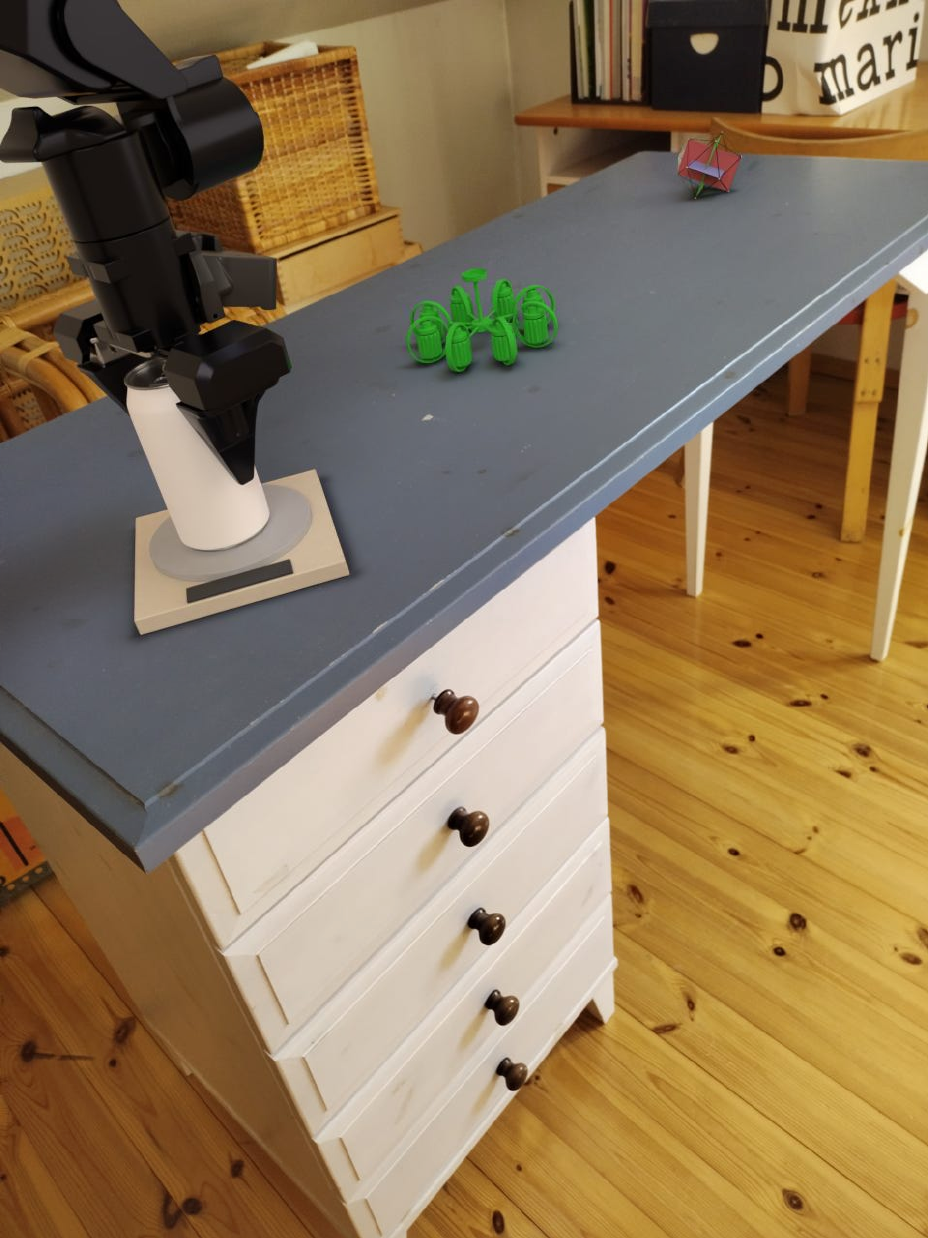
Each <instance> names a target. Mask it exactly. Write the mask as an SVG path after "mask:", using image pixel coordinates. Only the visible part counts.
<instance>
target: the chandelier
mask: <svg viewBox="0 0 928 1238" xmlns="http://www.w3.org/2000/svg"><path fill="white" fill-rule="evenodd" d="M487 277H488V273H487V270H486V269H485V268H482V267H480V268H471V269H467V270H465V271H464V272H462V273H461V278H462V282H464V283H473V287H474V288H473V289H474V295H475V302H476V309H477V316H478V317H475V314H474V313H475V312H474V306H473V301H472V299H471V298H470V294H469V293H468V292H465V290H464V289H463V287H462V286H460V285H456V286H453V287H452V288H451V291H450V303H449V309H450V314H451V316H450V314H449V313H448V311H447V310H446V308H445V307H443V306H442V305H441V304H440V303H438V302H436V301H432V300H423V301H421V302H419V303H417V305H415V306H414V308H413V309H412V311H411V312H410V317H409V323H410V324H409V325H410V326H409V328H408V330H407V333H406V336H405V345H406V349H407V351H408V353H409V354H410V355H411V357H412V358H413V359H414V360H416V361H417V362H419V363H423V364H432V363H436V362H437V361H440V360H441V359H442V358H443V357H445V358H446V361H447V362H446V363H447V365H448V367H449V368H450V370H451V371H452V372H454V373H462V372H464V371H465V370H466V369H467V366H469V365H470V364H471V363H472V362H473V352H472V343H471V338H472V337H473V335H475V333H481V332H487V331H488V332H489V333H491V335H490V340H491V348H492V354H493V357H494V359H495V360H496V361H499V362H502V363H503V364H504V365H505V366H510V365H514V363H515V362H516V358H517V355H518V345H517V339H518V340H519V341H520V342H521V343H522V344H524V345H526V346H528V347H530V348H535V349H536V348H537V349H538V348H544V347H546V346H548V345H549V344H550V343H551V342H552V341H553V340H554V339H555V338H556V336H557V334H558V328H559V323H558V319H557V318H558V317H557V316H556V313H555V310H556V302H555V298H554V295H553V294H552V292H551V291H550V289H548V288H546V287H545V286H542V285H539V284H532V285H528V286H526V287H524V288H523V289H521V290H520V291H519V293H518V294H516V297H515V296H514V289H513V286H512V284H511V281H509V280H508V279H507V278H502V279H501V278H500V279H498V280H497V281H496V282H495V285H494V287H493V289H492V291H491V294H492V296H491V298H490V299H491V309H492V311H491V312H490V313H489V314H488V315H487V316H485V317H484V316H483V309H482V304H481V297H480V296H481V295H480V290H479V284H478V283H479V282H481V281H483V280H485V279H486V278H487ZM537 289H540V290H543V291H545V292H546V293H547V295H548V297H549V299H550V306H548V304H545V300H544V298H543V294H542V293H541V292H538V291H537ZM521 298H522V302H521V305H520V306H519V307H518V308H517V306H518V303H519V301H520V299H521ZM421 306H422V310H419V317H418V319H416V320H415V314H416V311H417V309H418V308H419V307H421ZM520 310H521V311H522V324H521V323H520V322H519V320H518V318H517V317H518V314H519V312H520ZM439 311H440V312H441V313H442V314H443V316H444V318H445V320H446V322H445V321H443V319H442V315H441V314H440V312H439ZM546 312H547V313H548V315H546ZM492 316H493V318H491V317H492ZM511 320H512V322H510V321H511ZM551 320H552V322H553V334H552V336H551V338H550V339H549V340H548V338H549V332H548V324H549V323H550V322H551ZM446 323H447V324H446ZM444 328H445V330H444ZM519 328H520V329H522V330H523V335H524V336H523V335H522V334H521V332H520V331H519ZM445 331H446V336H445ZM470 331H471V332H470ZM412 333H413V334H414V336H415V338H416V344H417V349H418V354H419V356H420V357H421V358H420V357H418V356H416V355H415V354H414V353H413V351H412V349H411V346H410V345H411V344H410V339H411V335H412ZM444 336H445V338H444ZM516 337H517V338H516ZM443 343H445V346H444V347H443V346H442V344H443Z"/></svg>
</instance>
